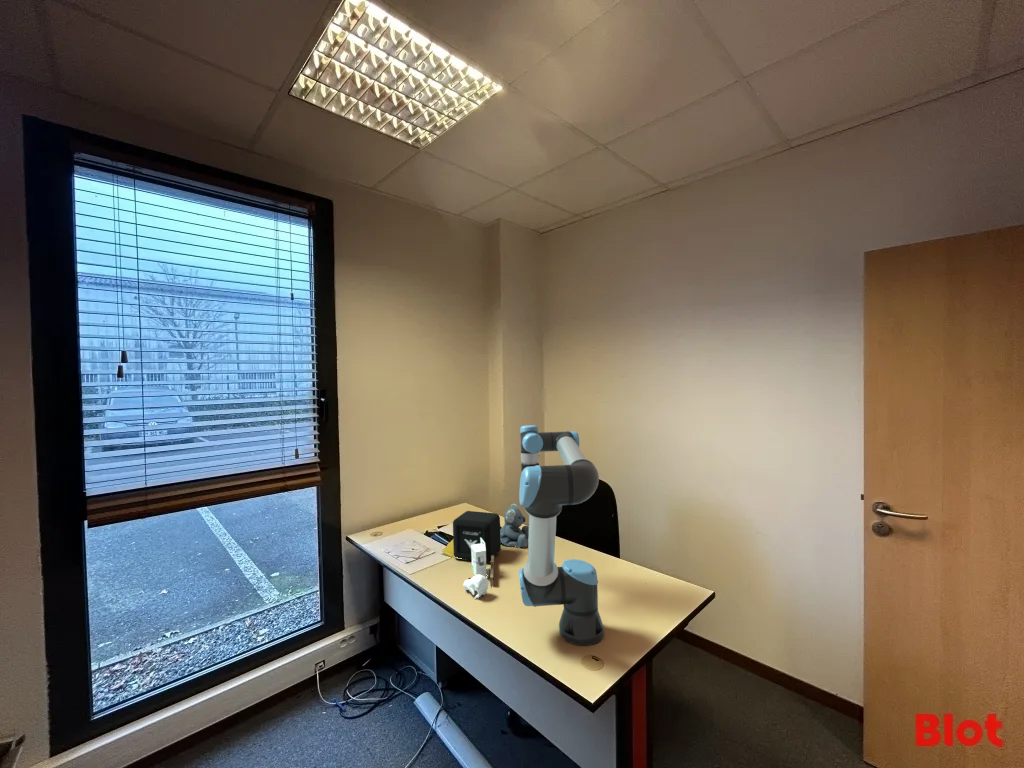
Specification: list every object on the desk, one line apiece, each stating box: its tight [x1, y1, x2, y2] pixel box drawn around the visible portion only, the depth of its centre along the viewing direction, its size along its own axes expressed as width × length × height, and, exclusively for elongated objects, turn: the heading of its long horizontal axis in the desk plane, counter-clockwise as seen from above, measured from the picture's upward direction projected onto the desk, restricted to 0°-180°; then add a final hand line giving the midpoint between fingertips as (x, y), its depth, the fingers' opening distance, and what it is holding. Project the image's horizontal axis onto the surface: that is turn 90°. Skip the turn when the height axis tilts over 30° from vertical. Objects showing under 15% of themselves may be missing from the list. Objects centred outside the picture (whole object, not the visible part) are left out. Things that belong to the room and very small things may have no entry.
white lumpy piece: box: [463, 574, 490, 599], centre depth 166 cm, size 6×8×12 cm
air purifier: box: [452, 510, 502, 564], centre depth 201 cm, size 20×15×20 cm
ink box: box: [471, 537, 487, 576], centre depth 182 cm, size 9×5×15 cm, turn 20°
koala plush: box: [500, 503, 529, 548], centre depth 218 cm, size 17×18×20 cm
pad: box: [485, 567, 490, 578], centre depth 183 cm, size 9×9×1 cm
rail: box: [489, 555, 495, 587], centre depth 182 cm, size 22×1×4 cm, turn 2°
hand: (531, 514), depth 168 cm, fingers open, 13 cm apart
